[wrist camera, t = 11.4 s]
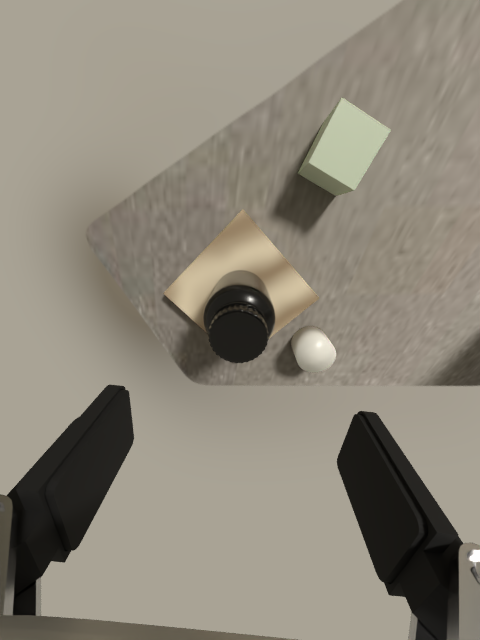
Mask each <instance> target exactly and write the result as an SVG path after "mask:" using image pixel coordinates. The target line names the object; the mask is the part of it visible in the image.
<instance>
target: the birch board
mask: <svg viewBox="0 0 480 640" xmlns="http://www.w3.org/2000/svg"><path fill="white" fill-rule="evenodd" d="M236 270H245V271H249V272H252V273H254V274H256V275H257V276H258V277H259V278H260V279H261V280H262V281H263V282H264V284H265V286H266V288H267V291H268V293H269V296H270V299H271V301H272V304H273V307H274V311H275V326H274V330H273V332H272V334H271V336H273V335H274V334H275V333H276V332H278V331H279V330H280V329H281V328H283V327H284V326H285V325H286V324H288V323H289V322H290V321H291V320H293V319H294V318H295V317H296V316H298V315H299V314H300V313H301V312H303V311H304V310H305V309H306V308H308V307H309V306H310V305H311V304H313V303H314V302H315V301H316V300H318V299H319V297H318V296H317V295H316V294H315V293H314V291H313V290H312V289H311V288H310V287H309V286H308V284H307V283H306V282H305V281H304V280H303V279H302V277H301V276H300V275H299V274H298V273H297V272H296V270H295V269H294V268H293V267H292V266H291V265H290V263H289V262H288V261H287V260H286V259H285V258H284V256H283V255H282V254H281V253H280V252H279V251H278V249H277V248H276V247H275V246H274V245H273V244H272V242H271V241H270V240H269V239H268V238H267V237H266V235H265V234H264V233H263V232H262V231H261V230H260V229H259V227H258V226H257V225H256V224H255V223H254V222H253V220H252V219H251V218H250V217H249V216H248V215H247V213H246V212H245V211H244V210H242V211H241V212H240V213H239V214H238V215H237V216H236V217H235V218H234V219H233V220H232V221H231V222H230V223H229V224H228V226H227V227H226V228H225V229H224V230H223V231H222V232H221V233H220V234H219V235H218V236H217V237H216V238H215V239H214V240H213V241H212V242H211V243H210V245H209V246H208V247H207V248H206V249H205V250H204V251H203V252H202V253H201V254H200V255H199V256H198V257H197V258H196V259H195V260H194V261H193V263H192V264H191V265H190V266H189V267H188V268H187V269H186V270H185V271H184V272H183V273H182V274H181V275H180V276H179V277H178V278H177V279H176V280H175V282H174V283H173V284H172V285H171V286H170V287H169V288H168V289H167V290H166V291H165V292H164V293H163V294H164V295H166V296H167V297H168V298H169V299H170V300H171V301H172V302H173V303H174V304H176V305H177V306H178V307H179V308H180V309H181V310H182V311H183V312H184V313H185V314H187V315H188V316H189V317H190V318H191V319H192V320H193V321H194V322H195V323H196V324H198V325H199V326H200V327H201V328H202V329H203V330H204V331H205V332H206V330H205V327H204V321H203V315H204V310H205V306H206V304H207V302H208V300H209V298H210V296H211V294H212V292H213V290H214V288H215V286H216V284H217V283H218V281H219V280H220V279H221V278H222V277H223V276H224V275H226V274H227V273H229V272H232V271H236ZM206 333H207V332H206ZM271 336H270V337H271ZM270 337H269V338H270Z"/></svg>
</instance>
